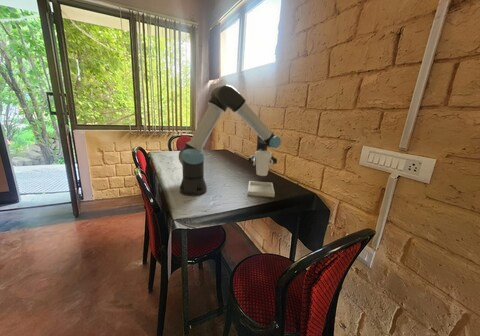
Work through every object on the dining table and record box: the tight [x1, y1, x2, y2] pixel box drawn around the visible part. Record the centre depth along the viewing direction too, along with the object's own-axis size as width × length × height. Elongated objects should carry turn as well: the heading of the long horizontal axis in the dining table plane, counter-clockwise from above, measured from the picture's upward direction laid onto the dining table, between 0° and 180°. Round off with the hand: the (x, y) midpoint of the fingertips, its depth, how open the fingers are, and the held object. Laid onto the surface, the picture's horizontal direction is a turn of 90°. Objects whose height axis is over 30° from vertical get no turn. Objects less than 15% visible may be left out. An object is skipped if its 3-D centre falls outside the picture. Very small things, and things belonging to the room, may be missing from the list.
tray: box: [247, 180, 276, 198], centre depth 122 cm, size 15×18×2 cm
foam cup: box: [254, 150, 273, 177], centre depth 117 cm, size 10×9×13 cm
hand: (263, 163), depth 112 cm, fingers closed on foam cup, 9 cm apart
